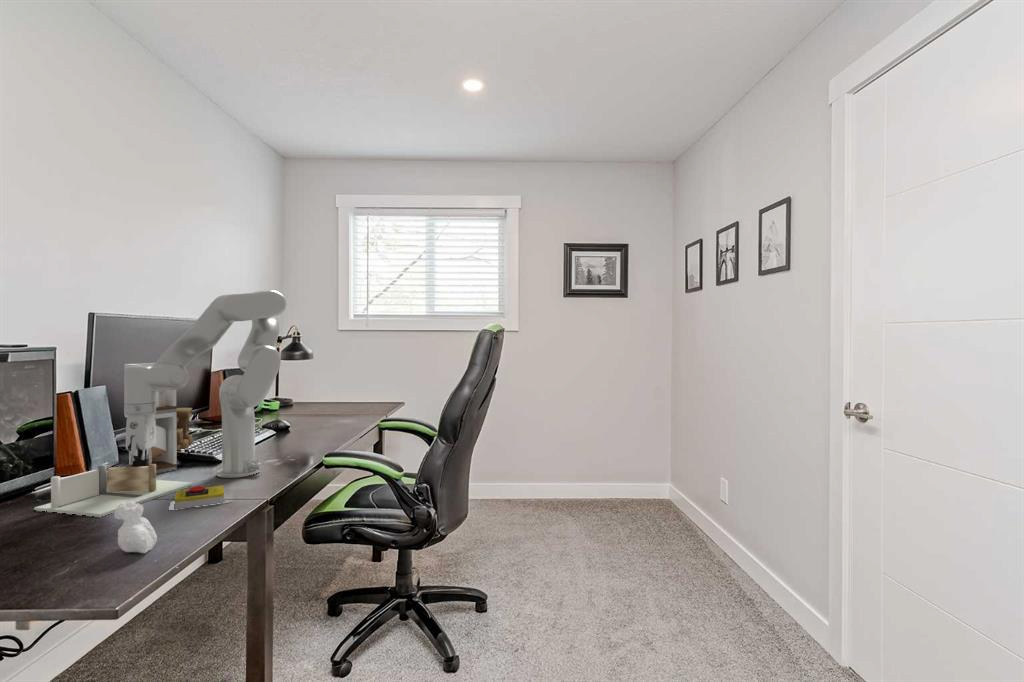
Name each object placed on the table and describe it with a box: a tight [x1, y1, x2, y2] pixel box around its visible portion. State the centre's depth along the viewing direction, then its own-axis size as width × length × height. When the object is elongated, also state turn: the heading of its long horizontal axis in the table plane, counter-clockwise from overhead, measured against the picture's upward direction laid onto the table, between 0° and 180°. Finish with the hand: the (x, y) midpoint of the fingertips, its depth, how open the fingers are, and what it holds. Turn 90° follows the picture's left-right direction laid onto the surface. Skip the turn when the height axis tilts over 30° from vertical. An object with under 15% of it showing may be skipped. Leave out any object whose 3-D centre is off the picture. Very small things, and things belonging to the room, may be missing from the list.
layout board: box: [33, 479, 195, 518], centre depth 151 cm, size 21×29×1 cm
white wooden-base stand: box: [123, 362, 178, 475], centre depth 180 cm, size 11×11×35 cm
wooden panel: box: [107, 464, 157, 493], centre depth 154 cm, size 12×2×7 cm, turn 101°
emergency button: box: [174, 485, 225, 510], centre depth 147 cm, size 9×4×15 cm
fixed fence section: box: [50, 464, 108, 508], centre depth 146 cm, size 14×2×8 cm, turn 167°
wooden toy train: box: [176, 407, 194, 450], centre depth 201 cm, size 20×11×17 cm, turn 24°
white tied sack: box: [113, 501, 158, 554], centre depth 115 cm, size 12×8×11 cm
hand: (140, 473), depth 156 cm, fingers closed
